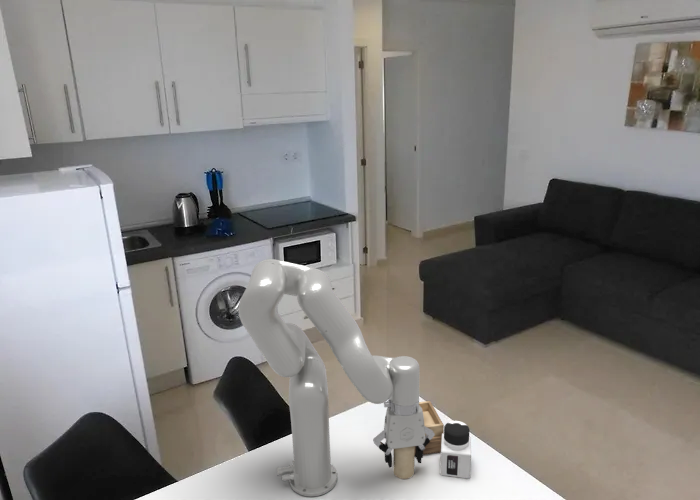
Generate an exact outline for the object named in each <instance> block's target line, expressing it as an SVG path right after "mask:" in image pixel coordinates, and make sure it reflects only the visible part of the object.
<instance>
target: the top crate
mask: <svg viewBox="0 0 700 500" xmlns="http://www.w3.org/2000/svg"><path fill="white" fill-rule="evenodd" d="M419 405H420V407H421V408H422V411H423V416H424V425H425V426H426V427H427V428H429V429H431V430H433V432H434V434H435V435H434V437H438V436H442V434H443V433H444V426H445V425H444V423H443V421H442V419H441V418H440V416H439V414H438V413H437V410H436V409H435V406H434V405H433V403H432V402H431V400H425V401H419ZM426 435H427V434H426V433H425V436H426Z"/></svg>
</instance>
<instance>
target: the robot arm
mask: <svg viewBox="0 0 700 500" xmlns="http://www.w3.org/2000/svg"><path fill="white" fill-rule="evenodd" d="M284 295H288V296H293V297H296V300H297V302H298V305H299V307H300V308H301V310H302V311H303V313H304V314H305V315H306V317H307V318H308V320H309V321H310V322H311V323H312V325H313V326H314V327H315V328H316V331H318V332H319V333H320V335H321V336H322V338H323V339H324V341H326V343H327V344H328V346H329V347H330V349H331V351H332V353H333V355H334V357H335V358H336V359H337V361H338V363H339V364H340V366H341V369H342V370H343V371H344V373H345V375H346V376H347V378H348V379H349V381H350V383H352V385H353V386H354V388H356V389H355V390H357V392H358V393H359V394H360V395H361V396H362V397H363V399H364V400H366V401H368V402H369V403H372V404H375V405H376V404H377V405H381V404H383V407H384V408H386V412H385V416H384V424H383V427H384V428H383V430H382V431H381V432H380V433H378V434H377V435H375V437H373V439H372V441H373V444H375V445H374V446H376V447H377V448H378V449H379V450H380V451H382V452H383V453H384V461H385V464H387V465H388V468H392V467H393V455H392V451H393V449H397V448H405V447H412V446H416V450H415V456H414V457H415V458H416V461H417V463H418V464H422V459H423V458H424V455H423V450H424V449H425V446H426V445H427V444H428V443H429V442H430V440H431V439H432V438H433V437H434V435H435V434H434V432H433V430H431V429H429V428H427V427H426V426H425V425H424V416H423V411H422V408H421V407H420V405H419V402H420V372H421V371H420V364H419V362H418V361H417V359H415V358H413V357H412V356H406V355H401V356H395V357H391V356H382V355H372V353H371V352H370V350H369V347H368V346H367V343H366V341H365V338H364V336H363V332H362V330H361V328H360V327H359V325H358V323H357V322H356V320H355V318H354V317H353V315H352V314H351V313H350V311H348V308H346V306H345V305H344V304H343V302H342V301H341V299H340V298H339V297H338V296H337V294H336V292H335V291H334V290H333V288H332V281H331V279H330V276H329V275H328V273H326V272H325V271H323V270H321V269H318V268H315V267H311V266H307V265H303V264H298V263H294V262H293V263H292V262H289V261H284V260H279V259H275V258H270V259H269V258H268V259H264V260H261V261H259V262H258V263H257V264H256V265H255V266H254V267H253V268H252V271H251V274H250V278H249V280H248V284H247V286H246V288H245V290H244V292H243V294H242V296H241V298H240V300H239V303H238V316H239V320H240V322H241V324H242V327H244V329H245V330H246V332H247V333H248V335H249V336H250V338H251V340H252V341H253V342H254V344H255V346H256V347H257V349H258V351H260V353H261V355H262V356H263V357H264V359H265V360H266V362H267V363H268V366H269V367H270V368H271V370H272V371H273V372H275V374H276V375H278V376H280V377H283V378H289V382H288V383H289V384H288V404H289V412H290V413H289V414H290V422H291V423H290V425H291V435H292V437H291V438H292V439H291V440H292V449H293V452H292V454H293V460H292V464H289V465H288V466H286V467H284V466H281V467H277V468H276V471H277V472H276V473H277V477H278V476H279V477H280V476H281V479H282V482H284V481H285V482H286V481H289V486H290V488H291V489H292V490H293V491H294V492H295V493H297V494H298V495H301V496H305V497H318V496H323V495H324V494H327V493H329V492H330V491H332V490H333V488H334V487H335V486H336V484H337V482H338V472H337V469H336V468H335V466H334V465H333V464H331V463H332V462H331V458H332V457H331V441H330V440H331V439H330V418H329V417H330V415H329V404H330V403H329V388H328V379H327V369H326V366H325V362H324V361H323V359H322V357H321V356H320V355H319V353H318V351H317V349H316V348H315V347H314V344H313V343H312V342H311V340H310V338H309V337H308V336H307V334H306V333H305V331H304V330H303V329H302V328H301V327H299V326H298V325H297V324H294V323H291V322H285V320H284V319H283V317H282V316H281V315H280V313H279V312H277V308H278V306H279V304H280V302H281V301H282V299H283V297H284ZM425 433H426V434H427V435H426V436H425ZM384 439H385V442H382V441H383V440H384Z"/></svg>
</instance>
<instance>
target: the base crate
mask: <svg viewBox="0 0 700 500" xmlns="http://www.w3.org/2000/svg"><path fill="white" fill-rule="evenodd" d="M441 440H442V436H438V437H433V438H432V439H431V440H430V442H429V443H428V444H427V445H426V446H425V449H424V450H423V456H424V455H431V454H439V453H440V454H441ZM415 450H416V446H415V449H414V457H416V456H415Z"/></svg>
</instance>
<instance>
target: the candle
mask: <svg viewBox="0 0 700 500" xmlns="http://www.w3.org/2000/svg"><path fill="white" fill-rule="evenodd" d="M414 449H415V446H412V447H405V448H397V449H392V451H393V452H392V453H393V455H392V467H393V474H394V475H395V477H396V478H398V479H401V480H408V479H410V478H412V477H413V476H414V474H415V456H414Z"/></svg>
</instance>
